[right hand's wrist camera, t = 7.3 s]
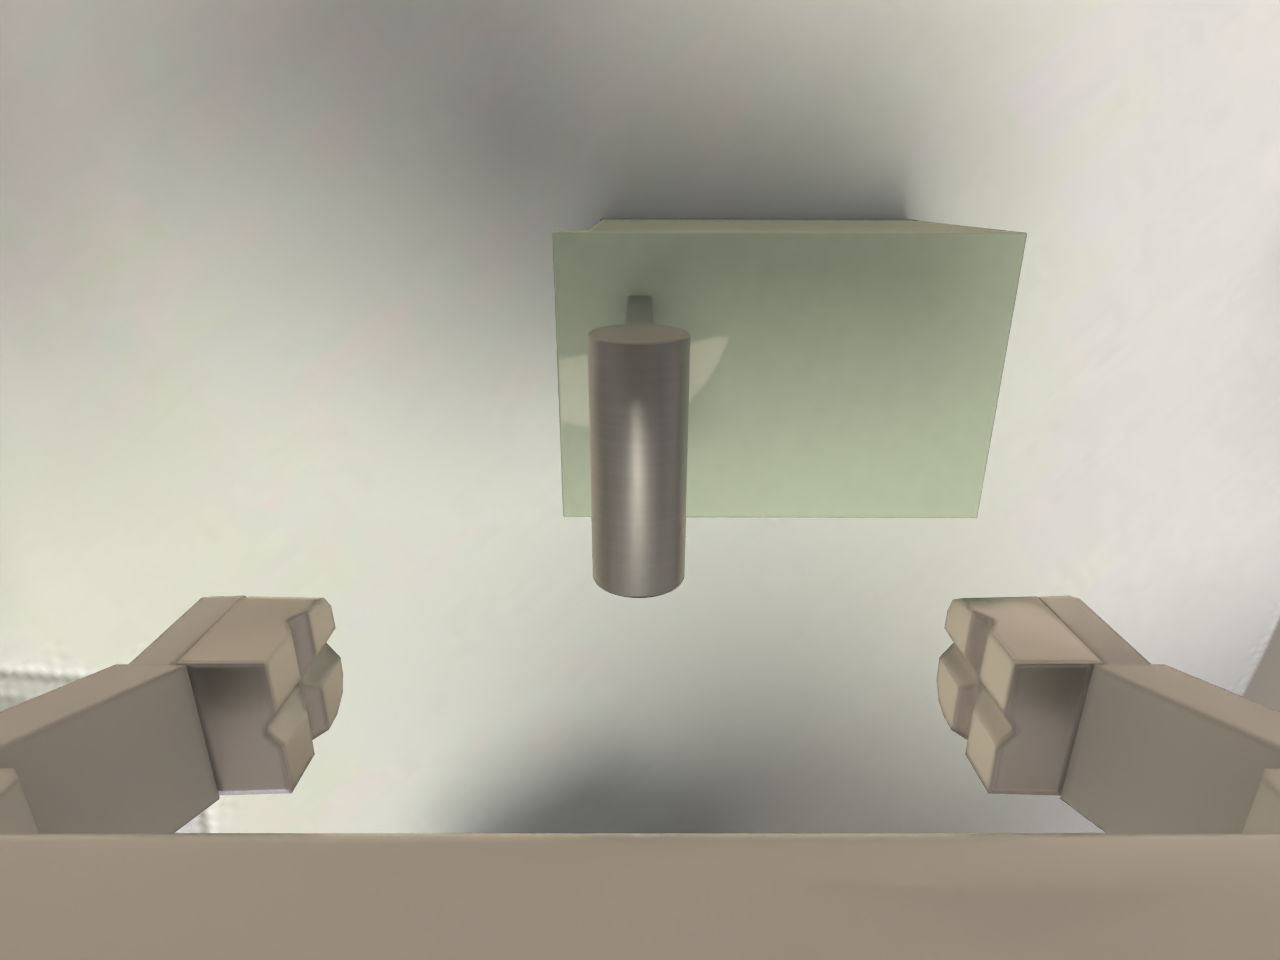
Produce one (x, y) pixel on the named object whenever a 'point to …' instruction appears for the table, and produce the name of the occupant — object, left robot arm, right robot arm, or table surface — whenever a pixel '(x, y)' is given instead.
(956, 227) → the chest
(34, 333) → the table surface
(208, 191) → the table surface
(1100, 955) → the right robot arm
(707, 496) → the box cover with handle
